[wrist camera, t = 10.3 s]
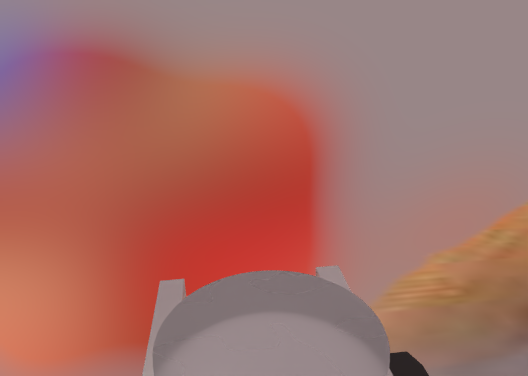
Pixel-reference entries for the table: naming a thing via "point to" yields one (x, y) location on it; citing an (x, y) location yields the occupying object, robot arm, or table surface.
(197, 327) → the shiny metal cylinder
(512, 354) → the table surface
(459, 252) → the table surface
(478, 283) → the table surface
